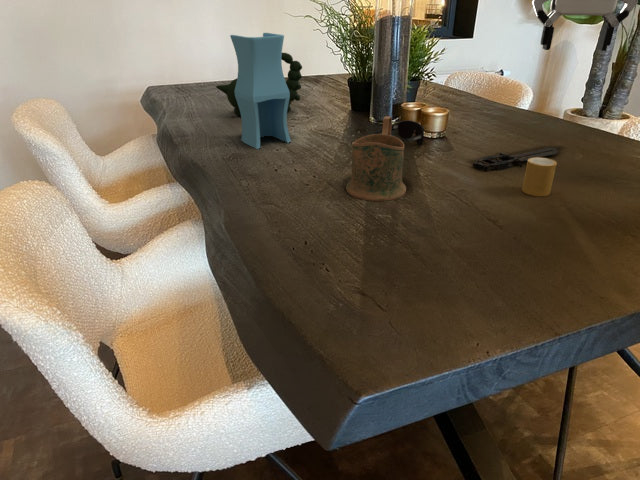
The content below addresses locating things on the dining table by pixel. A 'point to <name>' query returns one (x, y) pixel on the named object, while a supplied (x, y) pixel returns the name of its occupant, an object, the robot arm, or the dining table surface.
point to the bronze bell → (377, 166)
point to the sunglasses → (409, 131)
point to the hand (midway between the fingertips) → (573, 49)
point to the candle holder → (539, 176)
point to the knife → (511, 159)
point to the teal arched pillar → (261, 88)
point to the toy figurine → (291, 83)
